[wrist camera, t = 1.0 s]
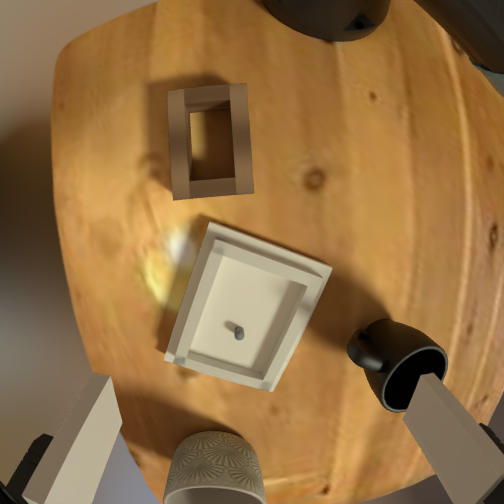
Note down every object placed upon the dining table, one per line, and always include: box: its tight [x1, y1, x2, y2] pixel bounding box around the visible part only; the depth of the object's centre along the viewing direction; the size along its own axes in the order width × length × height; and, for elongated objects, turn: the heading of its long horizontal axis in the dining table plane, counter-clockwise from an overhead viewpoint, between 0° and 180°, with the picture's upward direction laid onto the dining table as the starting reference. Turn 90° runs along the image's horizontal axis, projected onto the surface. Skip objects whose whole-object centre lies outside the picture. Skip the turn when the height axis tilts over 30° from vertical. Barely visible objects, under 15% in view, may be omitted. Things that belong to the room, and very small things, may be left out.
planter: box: [163, 431, 267, 504], centre depth 31 cm, size 12×12×11 cm
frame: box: [167, 83, 254, 201], centre depth 26 cm, size 10×7×4 cm
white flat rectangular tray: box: [164, 221, 333, 392], centre depth 31 cm, size 16×13×3 cm
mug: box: [347, 319, 448, 413], centre depth 29 cm, size 8×12×10 cm
